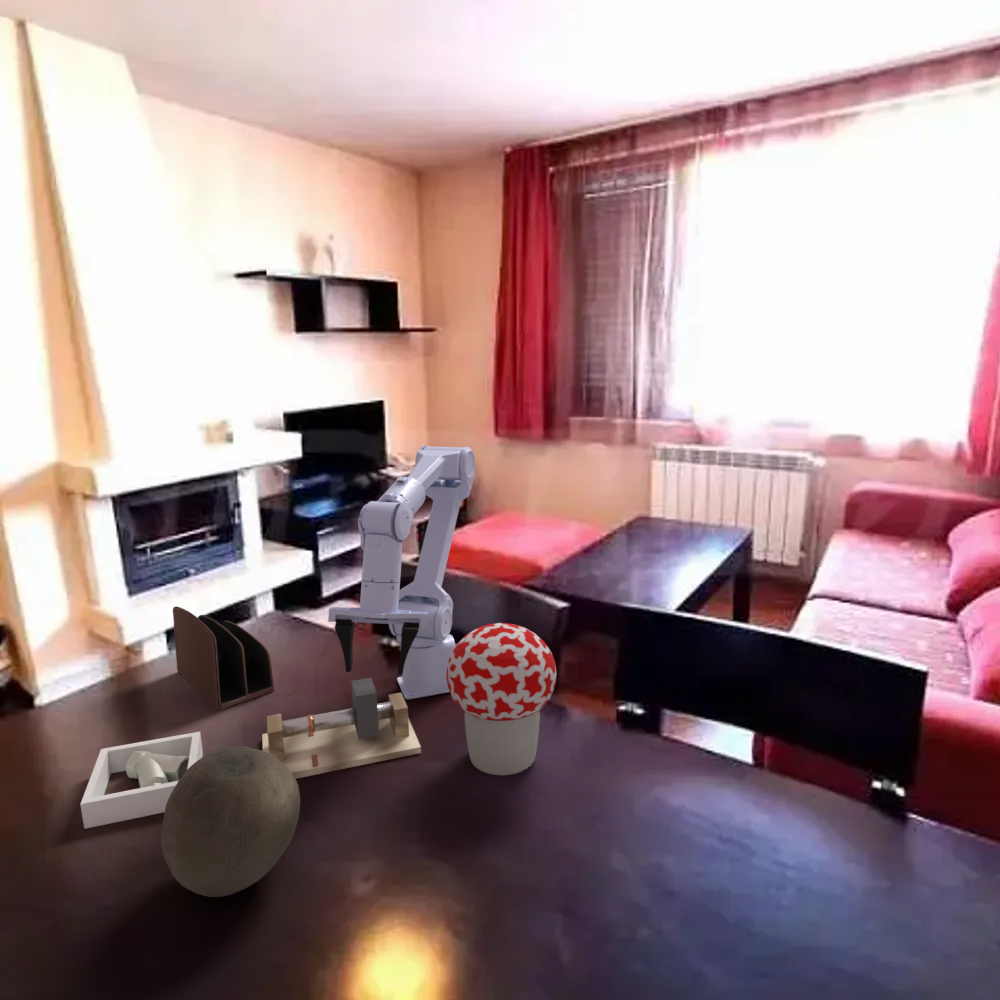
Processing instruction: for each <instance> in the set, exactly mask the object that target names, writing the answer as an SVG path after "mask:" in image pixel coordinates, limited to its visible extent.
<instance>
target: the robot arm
mask: <svg viewBox="0 0 1000 1000" xmlns="http://www.w3.org/2000/svg"><path fill="white" fill-rule="evenodd" d="M414 463H415V464H414V465H415V466H414V468H413V469H412V470H411V471H410V474H409V475H408V476H398V477H397V479H395V482H393V483H392V484H391V486H390V487H389V488H388V489H387V490H386V491H385V492H384V493H383V494H382V496H380V498H379V499H378V500H376V501H375V500H371V501H368V503H366V504H364V505H363V507H362V508H361V509H360V512H359V517H358V519H357V526H358V532H359V535H360V542H359V543H360V548H361V549H362V550H363V554H362V555H363V556H362V557H363V558H362V568H361V569H362V571H361V583H360V584H361V586H360V600H359V601H360V602H359V607H354V606H353V607H348V606H347V607H342V606H341V607H338V606H330V607H329V609H328V620H327V621H328V622H330V623H332V622H333V623H334V622H335V625H334V631H335V633H336V636H337V638H338V640H339V643H340V645H341V649H342V653H343V658H344V659H343V660H344V664H345V672H346V673H351V671H352V669H353V662H354V661H353V659H354V658H353V656H354V655H353V654H354V653H353V652H354V651H353V649H354V648H353V647H354V634H355V627H356V623H364V624H365V623H367V624H384V625H385V624H386V625H387V624H388V627H389V630H390V633H391V634H392V635H393V636H395V637H396V642H398V643H400V655H399V661H398V667H397V674H398V675H401V676H399V677H397V678H396V681H397V684H398V686H399V687H400V690H401V693H402V695H403V698H404V700H413V699H419V698H423V697H430V696H435V695H440V694H445V693H450V691H449V688H448V684H447V678H446V676H447V664H448V661H449V658H450V655H451V653H452V651H453V650H454V648H455V647H456V645H457V644H456V642H455V639H454V636H453V635H452V634H450V632H451V629H452V625H453V610H454V602H453V599H452V597H451V596H450V595H449V593H447V592H446V591H445V589H444V588H443V587H442V586H443V582H444V578H445V572H446V568H447V563H448V560H449V554H450V552H451V546H452V541H453V537H454V533H455V529H456V524H457V519H458V515H459V511H460V507H461V503H462V501H463V500H465V499H467V498H468V497H469V496H470V493H471V490H472V487H473V483H474V478H475V475H476V474H475V473H476V458H475V454H474V451H473V450H472V448H471V447H469V446H464V447H461V446H460V447H459V446H454V447H453V446H429V445H425V444H424V445H420V447H419V449H418V450H417V451H416V453H415V460H414ZM426 496H427V497H428V498H430V499H431V500H432V506H431V510H430V513H429V517H428V523H427V526H426V531H425V533H424V534H425V535H424V538H423V543H422V545H421V546H422V547H421V550H420V555H419V558H418V563H417V567H416V571H415V576H414V578H413V581H412V582H411V583H409V584H407V585H406V586H405V585H404V587H402V588H401V589H400V587H401V586H400V585H401V574H402V573H401V572H402V561H403V559H402V558H403V556H402V555H403V545H404V540H406V539H407V538H408V536H409V535H410V532H411V528H412V523H413V522H414V519H415V518H414V515H415V514H416V513H417V512H418V510H419V509H420V508H422V506H423V504H424V502H425V500H426Z"/></svg>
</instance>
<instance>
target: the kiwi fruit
mask: <svg viewBox="0 0 1000 1000" xmlns="http://www.w3.org/2000/svg"><path fill="white" fill-rule="evenodd" d="M300 794H301V793H300V789H299V784H298V781H297V780H296V779H295V778H294V776H293V775H292V773H291V771H290V770H289V769H288V767H287V766H286V765H285V764H284V763H283V762H281V761H280V760H279V759H277V758H276V757H274V756H272V755H271V754H269V753H267V752H264V751H263V750H261V749H259V748H258V749H257V748H252V747H248V746H244V745H233V746H225V747H222V748H219V749H216V750H214V751H211V752H210V753H207V754H205V755H204V756H202V758H201V759H199V760H198V761H196V762H195V763H194V764H193V765H192V766H190V767H189V768H188V769H187V771H186V772H185V773H184V774H183V776H182V777H181V778H180V780H179V781H178V783H177V784H176V786H175V788H174V789H173V791H172V793H171V795H170V797H169V799H168V801H167V804H166V807H165V812H163V813H164V815H163V820H162V827H161V833H160V834H161V835H160V845H161V851H162V855H163V857H164V860H165V862H166V864H167V866H168V868H169V871H170V873H171V874H172V877H174V879H175V880H176V881H177V882H178V883H179V884H180V885H181V886H182V887H184V888H185V889H187V890H189V891H191V892H192V893H194V894H197V895H199V896H200V895H201V896H205V897H208V898H209V897H210V898H222V897H228V896H231V895H234V894H236V893H239V892H241V891H243V890H246V889H247V888H249V887H251V886H253V885H254V884H255V883H257V882H259V880H261V879H262V878H264V876H266V875H267V874H268V873H269V872H270V871H271V870H272V868H274V866H276V865H277V862H278V861H279V860H280V859H281V858H282V857H283V855H284V853H286V850H287V849H288V847H289V846H290V843H291V842H292V839H293V838H294V835H295V832H296V829H297V824H298V821H299V817H300V812H301V811H300V810H301V795H300Z"/></svg>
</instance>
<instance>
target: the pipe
mask: <svg viewBox="0 0 1000 1000" xmlns="http://www.w3.org/2000/svg"><path fill="white" fill-rule="evenodd" d="M377 707H378V720H382V719H388V718H393V706H392V702H391V701H390V702H389V701H386V702H381V703H380V702H379V703H377ZM355 724H357V715H356V709H355V708H353V707H351V708H346V709H341V710H336V711H335V710H334V711H328V712H323V713H318V714H308V715H305V716H300V717H295V718H290V719H284V720H282V730H283V738H285V737H291V736H296V735H302V734H307V733H309V734H311V733H315V732H318V731H323V730H328V729H334V728H339V727H345V726H350V725H355Z"/></svg>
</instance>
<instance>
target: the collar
mask: <svg viewBox="0 0 1000 1000" xmlns="http://www.w3.org/2000/svg"><path fill="white" fill-rule="evenodd" d="M350 684H351V696H352V697H351V698H352V708H355V709H356V715H357V724H355V727H356V731H357V735H358V738H359V739H364V738H369V737H374V736H379V724H378V707H377V704H378V693H377V690H376V688H375V687H376V686H375V685H374V682H373V679H372V677H367V678H359V679H354V680H351V682H350Z"/></svg>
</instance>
